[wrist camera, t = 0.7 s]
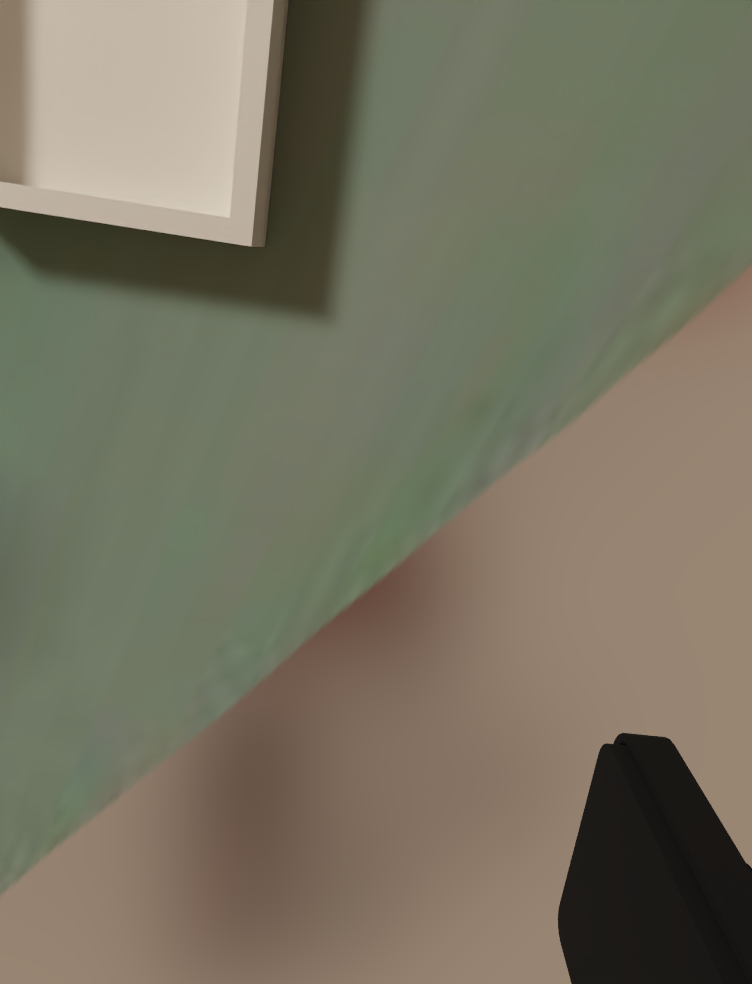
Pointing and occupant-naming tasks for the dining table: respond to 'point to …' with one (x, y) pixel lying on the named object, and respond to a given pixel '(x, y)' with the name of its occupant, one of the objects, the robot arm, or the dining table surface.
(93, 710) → the dining table surface
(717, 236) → the dining table surface
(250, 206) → the tray
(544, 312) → the dining table surface
